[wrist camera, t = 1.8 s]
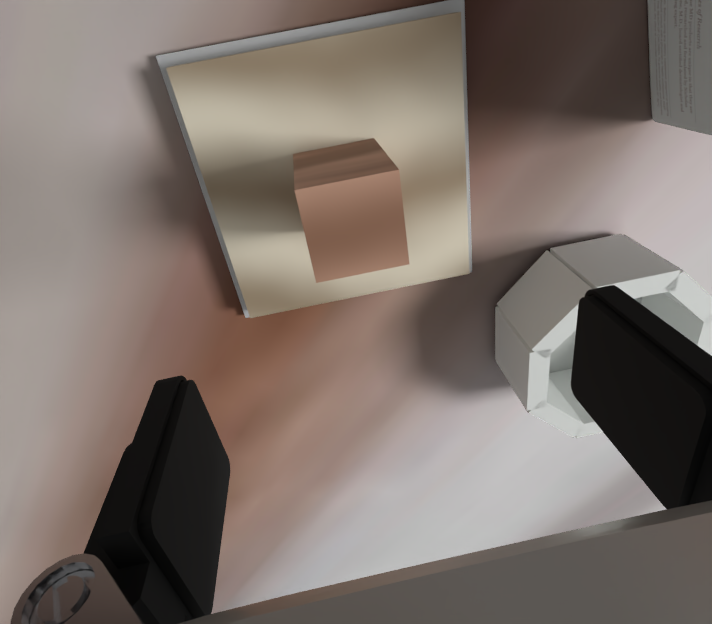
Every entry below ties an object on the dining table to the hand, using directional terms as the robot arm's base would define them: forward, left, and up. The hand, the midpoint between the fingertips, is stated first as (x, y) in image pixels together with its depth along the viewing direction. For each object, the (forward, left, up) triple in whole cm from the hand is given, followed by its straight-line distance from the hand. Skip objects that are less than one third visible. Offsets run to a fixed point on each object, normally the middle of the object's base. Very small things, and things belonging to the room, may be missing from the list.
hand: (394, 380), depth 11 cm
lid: (0, 0, -16) cm, 16 cm away
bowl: (+12, +14, -16) cm, 24 cm away
